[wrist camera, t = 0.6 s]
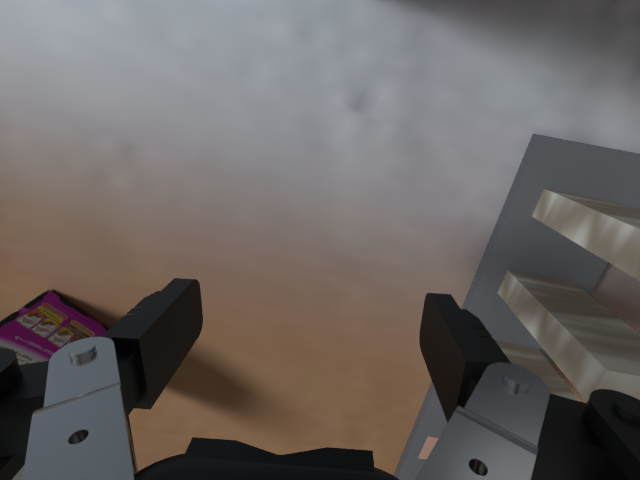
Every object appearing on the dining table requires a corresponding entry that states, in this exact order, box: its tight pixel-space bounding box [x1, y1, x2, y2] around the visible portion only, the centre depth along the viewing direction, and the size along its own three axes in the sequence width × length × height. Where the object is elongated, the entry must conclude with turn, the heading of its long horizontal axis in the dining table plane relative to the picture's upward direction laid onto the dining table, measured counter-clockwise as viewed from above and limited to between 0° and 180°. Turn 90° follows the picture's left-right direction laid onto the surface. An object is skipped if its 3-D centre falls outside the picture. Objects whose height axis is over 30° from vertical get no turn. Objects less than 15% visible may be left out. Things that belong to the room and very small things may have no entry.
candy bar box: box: [0, 290, 109, 480], centre depth 29 cm, size 11×5×16 cm, turn 47°
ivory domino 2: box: [498, 270, 640, 402], centre depth 25 cm, size 2×6×12 cm, turn 80°
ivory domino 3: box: [495, 340, 580, 402], centre depth 27 cm, size 2×6×12 cm, turn 80°
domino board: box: [394, 134, 640, 480], centre depth 35 cm, size 48×10×1 cm, turn 170°
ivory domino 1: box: [532, 189, 640, 281], centre depth 22 cm, size 2×6×12 cm, turn 80°
